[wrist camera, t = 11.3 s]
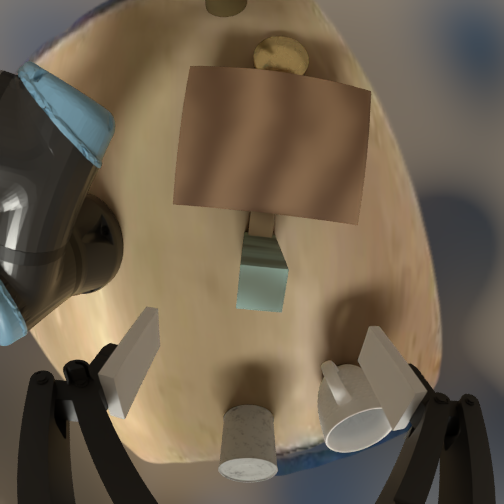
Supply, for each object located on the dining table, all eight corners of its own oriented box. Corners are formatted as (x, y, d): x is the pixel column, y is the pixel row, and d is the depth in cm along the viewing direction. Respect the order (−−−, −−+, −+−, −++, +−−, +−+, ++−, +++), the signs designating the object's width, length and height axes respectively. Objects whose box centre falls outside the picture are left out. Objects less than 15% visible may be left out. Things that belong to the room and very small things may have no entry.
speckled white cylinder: (222, 403, 44) (216, 456, 33) (275, 404, 44) (280, 457, 33) (224, 433, 47) (220, 481, 35) (272, 433, 47) (275, 482, 35)
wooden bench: (193, 196, 35) (173, 204, 25) (205, 93, 31) (190, 66, 22) (330, 212, 36) (357, 225, 26) (341, 111, 32) (370, 91, 22)
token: (244, 73, 31) (243, 66, 29) (268, 37, 29) (269, 28, 27) (291, 95, 32) (294, 89, 29) (313, 58, 30) (317, 51, 28)
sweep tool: (271, 264, 37) (281, 312, 24) (241, 261, 37) (236, 308, 24) (291, 87, 31) (313, 41, 18) (261, 84, 31) (266, 34, 18)
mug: (288, 361, 42) (298, 420, 29) (348, 326, 40) (379, 378, 28) (326, 407, 45) (341, 460, 32) (377, 379, 43) (403, 428, 31)
